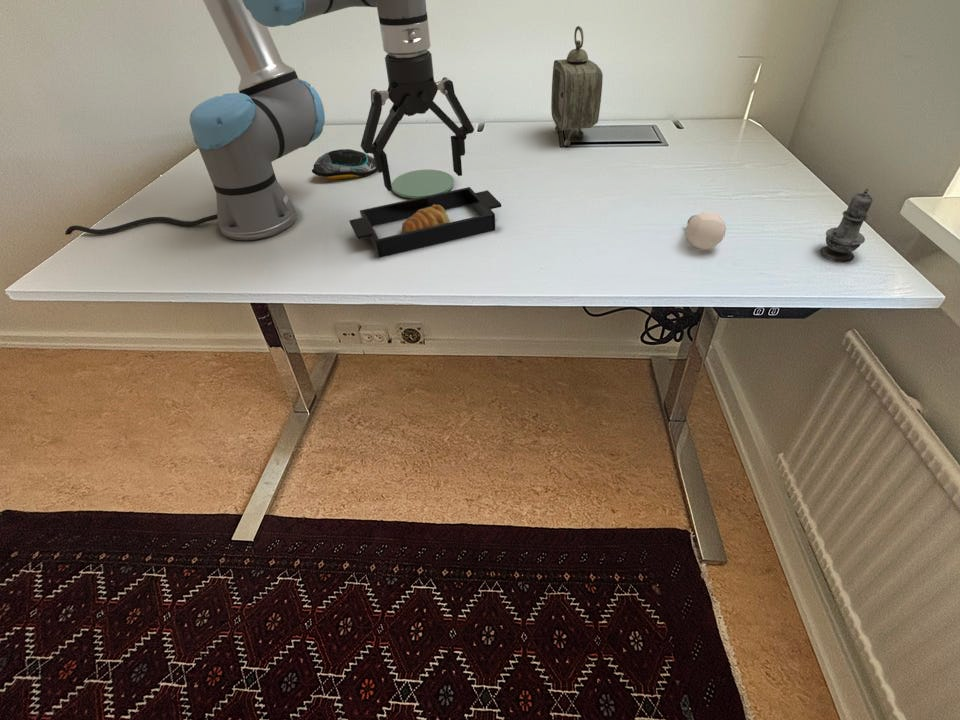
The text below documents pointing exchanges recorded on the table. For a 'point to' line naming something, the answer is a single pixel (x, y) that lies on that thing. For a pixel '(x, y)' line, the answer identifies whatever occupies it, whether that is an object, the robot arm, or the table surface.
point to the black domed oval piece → (344, 164)
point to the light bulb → (705, 230)
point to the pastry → (426, 219)
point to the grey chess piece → (848, 230)
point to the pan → (430, 235)
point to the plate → (422, 183)
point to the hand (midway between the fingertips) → (423, 180)
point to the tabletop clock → (576, 91)
